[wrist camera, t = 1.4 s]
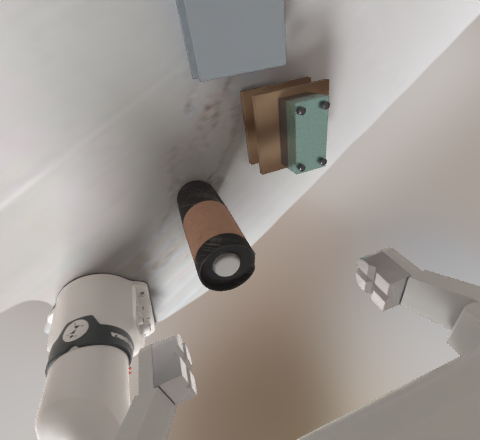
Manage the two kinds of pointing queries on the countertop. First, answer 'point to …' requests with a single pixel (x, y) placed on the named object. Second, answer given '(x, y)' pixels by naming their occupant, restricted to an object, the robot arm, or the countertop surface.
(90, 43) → the countertop surface
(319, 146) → the block
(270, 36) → the stand
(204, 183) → the travel mug
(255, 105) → the stand
